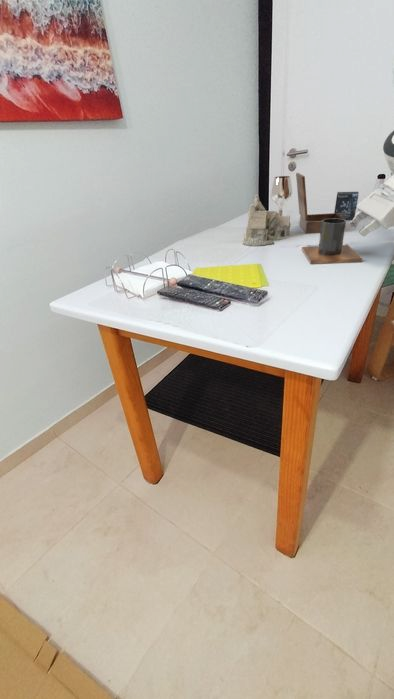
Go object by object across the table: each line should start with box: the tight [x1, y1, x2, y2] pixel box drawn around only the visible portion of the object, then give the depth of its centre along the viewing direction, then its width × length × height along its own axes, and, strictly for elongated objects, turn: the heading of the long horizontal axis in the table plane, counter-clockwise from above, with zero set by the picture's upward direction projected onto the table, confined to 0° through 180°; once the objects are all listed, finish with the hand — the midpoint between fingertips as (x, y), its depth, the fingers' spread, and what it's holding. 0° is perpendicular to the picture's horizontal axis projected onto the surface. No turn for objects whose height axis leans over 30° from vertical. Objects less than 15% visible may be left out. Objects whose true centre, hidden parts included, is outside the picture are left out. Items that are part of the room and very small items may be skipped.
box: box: [333, 191, 360, 221], centre depth 134 cm, size 8×6×11 cm
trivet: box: [301, 244, 363, 265], centre depth 101 cm, size 14×14×1 cm
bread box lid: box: [295, 172, 309, 221], centre depth 120 cm, size 14×13×1 cm
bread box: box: [299, 212, 347, 235], centre depth 125 cm, size 14×13×5 cm
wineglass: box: [270, 175, 293, 210], centre depth 131 cm, size 8×8×18 cm
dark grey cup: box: [318, 218, 347, 255], centre depth 98 cm, size 6×6×9 cm
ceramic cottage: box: [242, 194, 292, 247], centre depth 117 cm, size 16×16×15 cm
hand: (355, 230), depth 97 cm, fingers open, 8 cm apart
